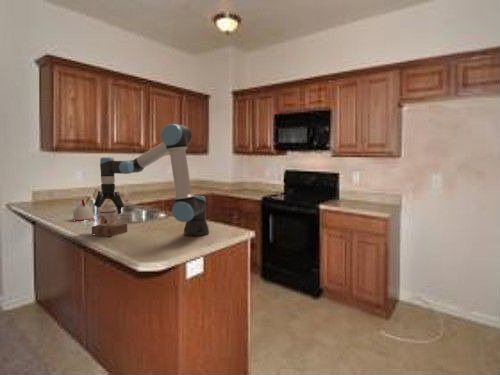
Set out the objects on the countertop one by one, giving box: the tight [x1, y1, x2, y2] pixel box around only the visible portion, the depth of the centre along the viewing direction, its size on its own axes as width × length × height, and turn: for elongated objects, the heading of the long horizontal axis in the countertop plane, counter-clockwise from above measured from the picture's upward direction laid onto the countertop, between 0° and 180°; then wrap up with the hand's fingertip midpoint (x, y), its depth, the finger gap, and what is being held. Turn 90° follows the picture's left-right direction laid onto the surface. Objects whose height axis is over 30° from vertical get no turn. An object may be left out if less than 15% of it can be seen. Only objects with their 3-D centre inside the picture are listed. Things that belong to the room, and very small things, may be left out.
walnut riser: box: [91, 222, 128, 238], centre depth 200 cm, size 14×14×5 cm
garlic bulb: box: [72, 199, 95, 221], centre depth 240 cm, size 14×14×15 cm
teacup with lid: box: [99, 205, 117, 226], centre depth 199 cm, size 12×9×12 cm
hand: (109, 218), depth 199 cm, fingers open, 13 cm apart
